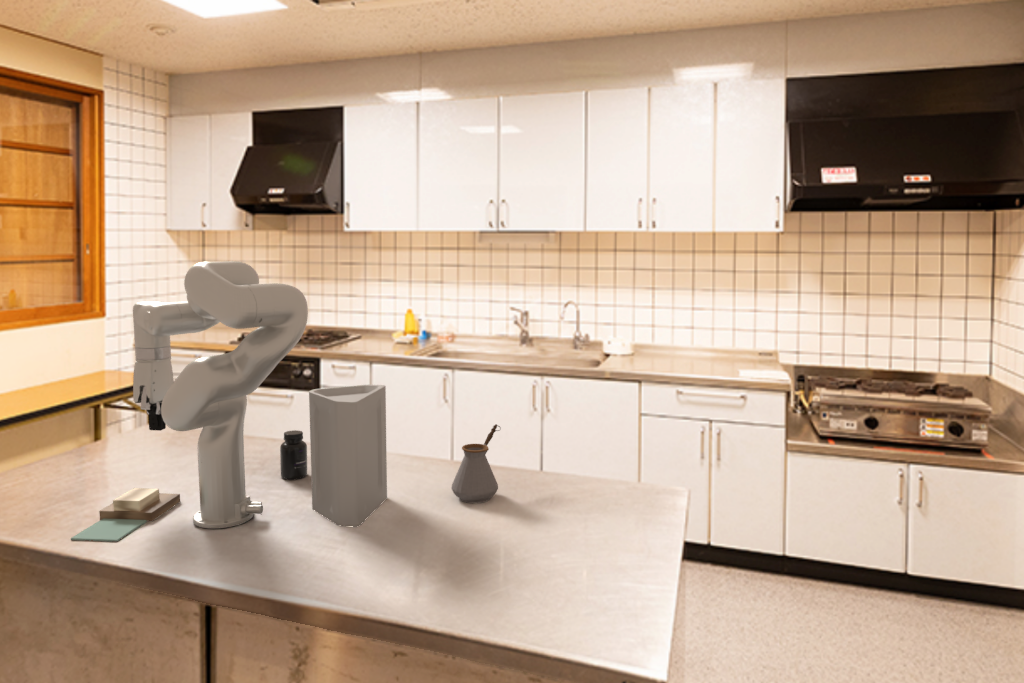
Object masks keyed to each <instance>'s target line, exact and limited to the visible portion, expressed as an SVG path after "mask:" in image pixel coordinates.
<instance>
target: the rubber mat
mask: <svg viewBox="0 0 1024 683" xmlns="http://www.w3.org/2000/svg"><path fill="white" fill-rule="evenodd" d="M147 522H148V521H147V520H133V519H105V518H103V519H102V520H100V519H99V521H97V522H96V523H93V524H92V525H90V526H88V527H87V528H85V529H83V530H81V531H80V532H79V533H76V534H75V535H74V536H72V537H71V538H70V541H85V540H89V541H90V542H93V541H94V542H112V541H118V542H119V541H120V539H121V538H122V539H123V537H124V536H125V537H127V536H128V535H130V534H131V533H133V532H134V531H135V530H137V529H138V528H140V527H142V526H143V525H144V524H146V523H147ZM127 534H128V535H127ZM126 535H127V536H126ZM125 537H124V538H125ZM122 539H121V540H122ZM91 540H93V541H91ZM89 541H88V542H89Z"/></svg>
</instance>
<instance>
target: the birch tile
mask: <svg viewBox="0 0 1024 683" xmlns="http://www.w3.org/2000/svg"><path fill="white" fill-rule="evenodd" d="M159 493H160V488H146V487H144V488H143V487H134V488H132V489H130V490H128V491H127V492H125V493H123V494H120V496H118V497H116V498H115V499H112V503H113V507H114V511H141V510H143V509H144V508H146V507H147V506H149V505H151V504H152V503H154V502H155V501H157V500H158V499H160V498H159Z"/></svg>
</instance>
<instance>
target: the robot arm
mask: <svg viewBox="0 0 1024 683" xmlns="http://www.w3.org/2000/svg"><path fill="white" fill-rule="evenodd" d="M183 280H184V281H183V282H184V283H183V285H184V290H185V293H186V301H169V302H164V301H157V300H156V301H155V300H153V301H152V300H150V301H148V300H147V301H146V300H145V301H137V302H136V303H134V305H133V306H132V320H133V322H132V323H133V337H134V351H135V352H134V356H135V361H134V366H133V377H132V378H133V380H132V386H133V388H132V391H133V392H132V396H133V402H134V403H135V404H140V410H142V411H143V410H145V411H146V414H147V415H148V417H147V418H148V430H149V431H161V432H162V431H163V430H165V429H166V426H167V427H168V428H169V429H171V430H173V431H176V432H189V431H193V430H196V429H201V428H202V429H201V431H200V433H199V437H198V441H197V446H196V447H197V466H198V467H197V468H198V485H199V486H198V487H199V491H198V492H199V506H200V509H199V510H198V511H196V513H194V515H193V517H192V519H193V524H194V525H195V526H196V527H199V528H204V529H213V530H214V529H225V528H230V527H235V526H239V525H241V524H245V523H246V522H248V521H250V520H251V519H252V518H253V517H254V515H261V514H262V513H263V511H264V506H263V502H262V501H259V502H258V501H252V500H251V495H250V494H246V492H247V491H246V490H247V489H246V473H245V472H246V468H245V442H244V440H245V439H244V432H245V431H244V428H245V418H246V414H247V413H246V412H247V405H248V403H247V402H248V399H247V398H248V397H247V396H248V395H250V394H252V393H254V392H255V391H256V390H257V389H259V387H260V386H261V385H262V383H263V382H264V381H266V378H268V376H269V375H270V374H271V373H272V372H273V371H274V369H275V368H276V367H277V366H278V364H280V362H281V361H282V360H283V359H284V358H285V357H286V356H287V355H288V354H289V353H290V352H291V351H292V350H293V349H294V348H295V347H296V345H297V344H298V343H299V341H300V340H301V338H302V337H303V335H304V332H305V330H306V327H307V325H308V318H309V308H308V301H307V299H306V296H305V294H304V293H303V292H302V291H301V290H300V289H299V288H297V287H295V286H293V285H290V284H286V283H260V278H259V274H258V272H257V271H256V270H255V268H254V267H253V266H251V265H250V264H248V263H246V262H242V261H236V260H235V261H233V260H231V261H229V260H228V261H227V260H226V261H225V260H224V261H200V262H197V263H195V264H193V265H192V266H191V267H190V268H189V269H188V270H187V271H186V274H185V276H184V279H183ZM219 323H221V324H222V325H225V327H228V328H231V329H238V330H242V329H251V328H256V329H254V330H253V331H251V332H249V334H247V335H245V337H243V339H242V340H241V342H240V343H239V344H238V346H236V347H235V348H234V349H233V350H232V351H230V352H227V353H221V354H216V355H209V356H204V357H203V356H202V357H200V358H196V359H194V360H193V361H191V362H189V363H188V364H187V365H186V366H185V367H184V368H183V370H182V371H181V372H180V373H179V375H178V376H177V378H176V379H175V380H174V373H173V366H172V352H171V351H172V350H171V349H172V348H171V336H176V335H187V334H195V333H200V332H203V331H206V330H208V329H210V328H212V327H215V326H216V325H218V324H219Z"/></svg>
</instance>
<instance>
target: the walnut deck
mask: <svg viewBox="0 0 1024 683" xmlns="http://www.w3.org/2000/svg"><path fill="white" fill-rule="evenodd" d="M159 498H160V499H158V500H157V501H155V502H154V503H152V504H151V505H149V506H147V507H146V508H144V509H143V510H141V511H114V507H113V502H112V503H111V504H109V505H107V506H106V507H103V508H102V509H100V510H99V511H98V512H99V521H100V520H102V519H103V518H105V519H133V520H147V522H153V521H154V520H156V519H158V518H159V517H161V516H162V515H164V514H165V513H166V512H168V511H170V510H171V509H172V508H174V507H175V506H177V505H178V504H179V502H180V503H181V493H168V492H167V493H164V492H163V493H162V492H159ZM177 503H178V504H177ZM176 504H177V505H176ZM174 505H175V506H174ZM173 506H174V507H173ZM170 508H171V509H170ZM167 510H168V511H167Z"/></svg>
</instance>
